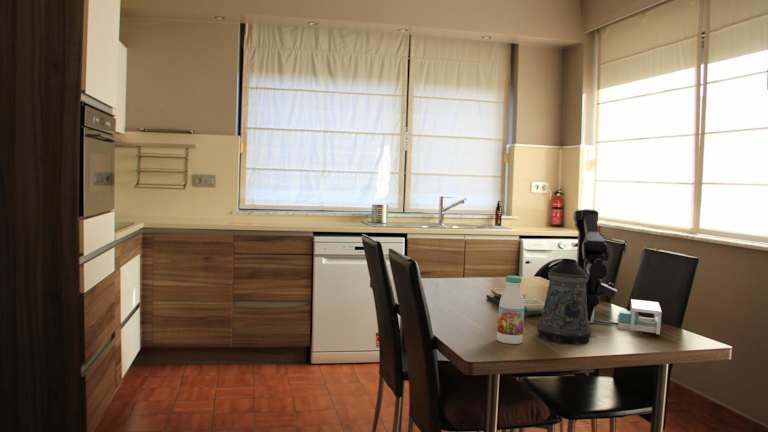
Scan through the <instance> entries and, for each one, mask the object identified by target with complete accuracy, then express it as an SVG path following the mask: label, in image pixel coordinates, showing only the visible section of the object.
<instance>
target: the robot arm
mask: <svg viewBox="0 0 768 432" xmlns="http://www.w3.org/2000/svg"><path fill="white" fill-rule="evenodd" d="M572 215H573V217H572V218H573V222H574V227H575V229H576V231H577V232H578V233H577V236H578V237H577V253H576V262H577V264H578V265H579V266H580V267H581V268H582V269H583V270H584V271H585V272H586V273H587V275H588V276H589V279H588V282H587V283H586V297H587V312H588V321H590V320H591V317H592V313H593V310H594V311H595V307H597V306H598V305H600V300H601V299H600V298H601V295H603V296H604V297H605V296H606V297H607V298H609V299H610V300H614V299H615V297H616V295H617V293H618V290H617V289H616V288H615V285H614V283H612V282H608V283H607V284H606V283H603V282H602V280H603V279H604V278H605V277H606V276H607V273H608V269H607V267H606V265H605V264H603V261H604V262H608V259H609V257H610V256H609V248H608V246H607V243H606V242H605V239H604V237H603V236H602V235H600V231H599V227H598V222H599V211H597V210H595V209H591V208H590V209H589V208H584V209H580V208H578V209H577V210H574V212H573V214H572Z"/></svg>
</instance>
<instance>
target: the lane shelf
mask: <svg viewBox="0 0 768 432" xmlns="http://www.w3.org/2000/svg"><path fill="white" fill-rule="evenodd" d="M629 309H630V310H629V311H632V316H631V324H627V323H619V314H617V323H618V325H617V329H619V330H621V329H622V330H628V331H631V332H634V331H636V332H645V333H652V334H656V335H660V334H661V324H662V313H663V311H662V309H661V305H660V303H659V301H651V300H642V299H632V298H631V299H630V307H629ZM635 312H638V313H639V312H640V313H647V314H653V317H643V316H639V318H638V325H635V324H634V320H635Z"/></svg>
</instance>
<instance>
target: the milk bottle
mask: <svg viewBox="0 0 768 432" xmlns="http://www.w3.org/2000/svg"><path fill="white" fill-rule="evenodd" d="M505 283H506V285H505V289H504V291H503V293H502V294H501V297H500V298H499V305H498V315H497V326H496V328H497V329H496V340H497V341H498V342H500V343H503V344H510V345H518V344H519V345H520V344H521V343H523V339H524V338H523V337H524V326H525V325H524V323H525V308H526V307H525V299H524V297H523V293H522V290H521V285H522V277H521V276H518V275H507V276H506V277H505Z"/></svg>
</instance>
